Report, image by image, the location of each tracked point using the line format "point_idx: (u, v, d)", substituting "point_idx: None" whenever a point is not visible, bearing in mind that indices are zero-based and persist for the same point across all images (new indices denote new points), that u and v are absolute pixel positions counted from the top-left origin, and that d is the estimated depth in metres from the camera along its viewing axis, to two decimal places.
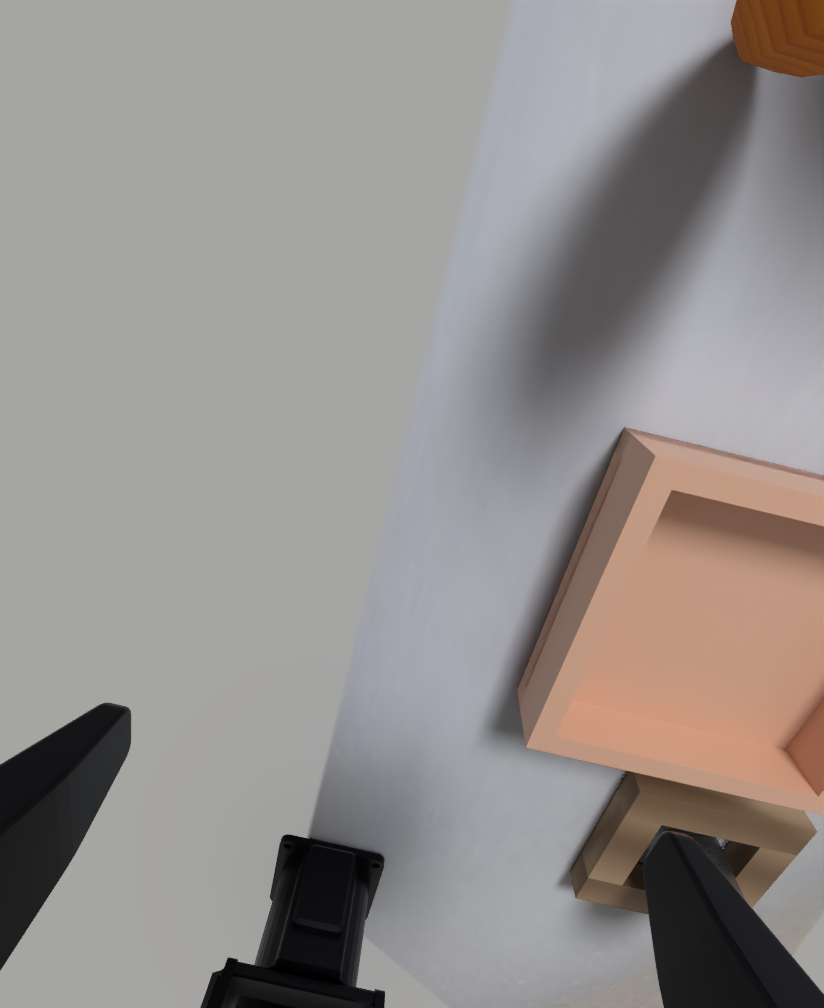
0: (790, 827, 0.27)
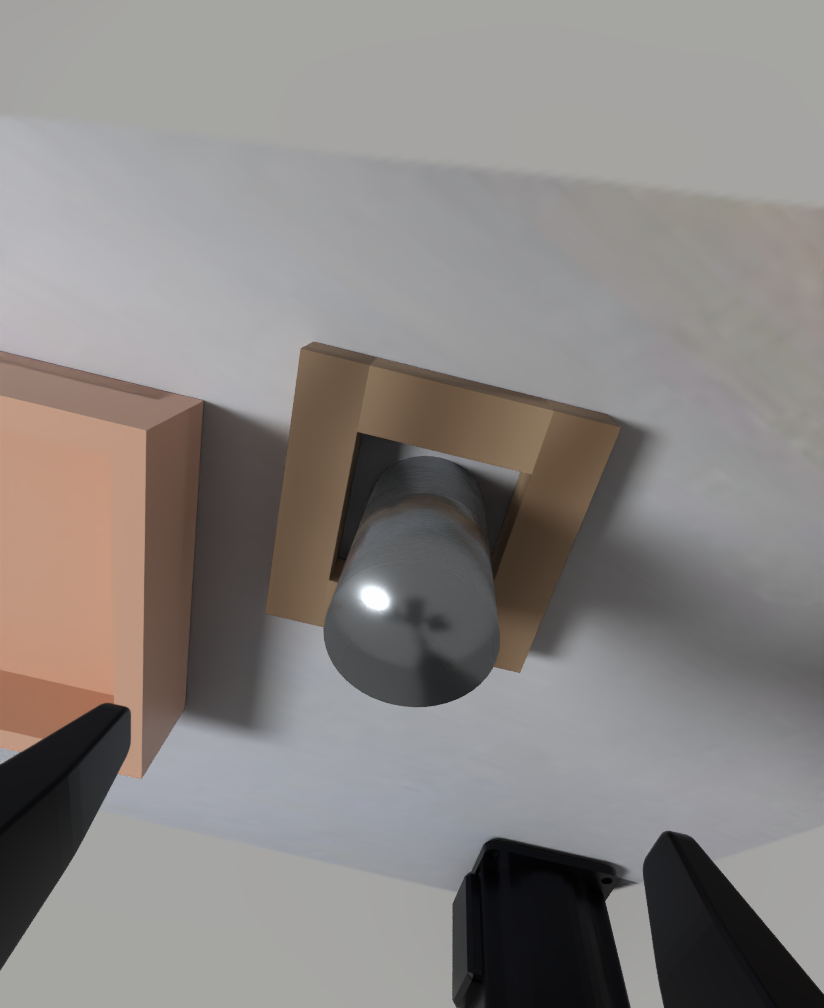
0: (298, 397, 0.15)
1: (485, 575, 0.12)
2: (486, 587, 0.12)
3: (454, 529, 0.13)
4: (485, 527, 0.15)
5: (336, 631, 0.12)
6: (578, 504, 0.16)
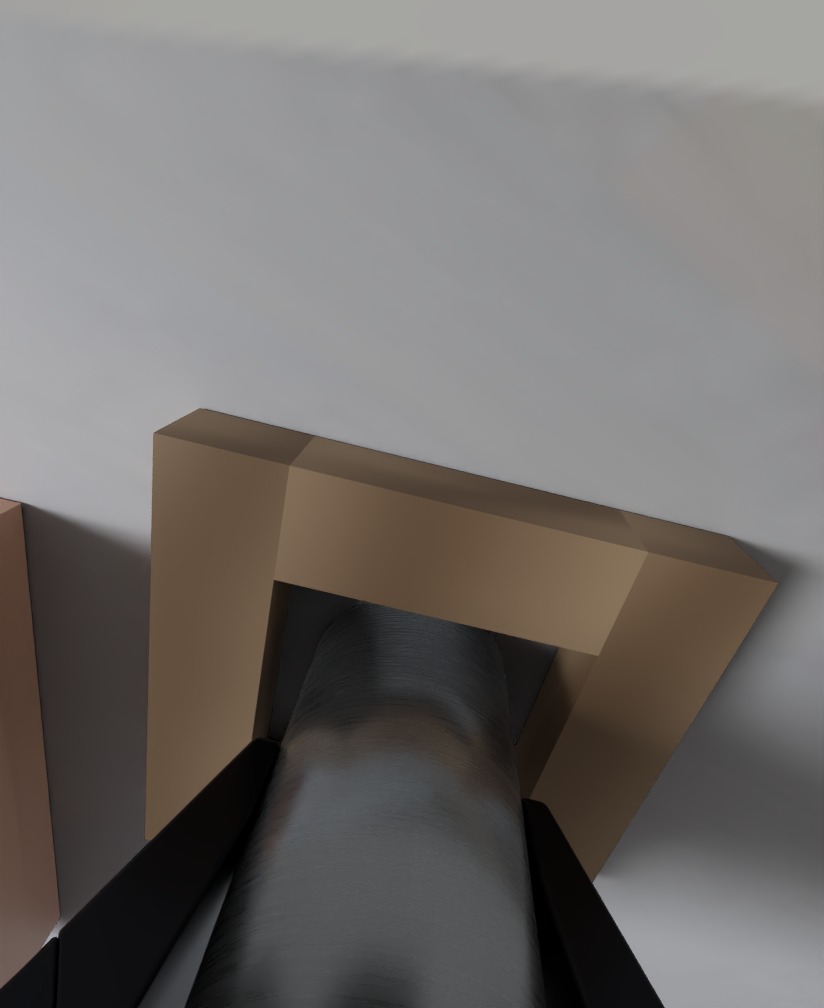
0: (159, 519, 0.08)
1: None
2: None
3: (456, 871, 0.06)
4: (514, 761, 0.08)
5: None
6: (681, 706, 0.09)
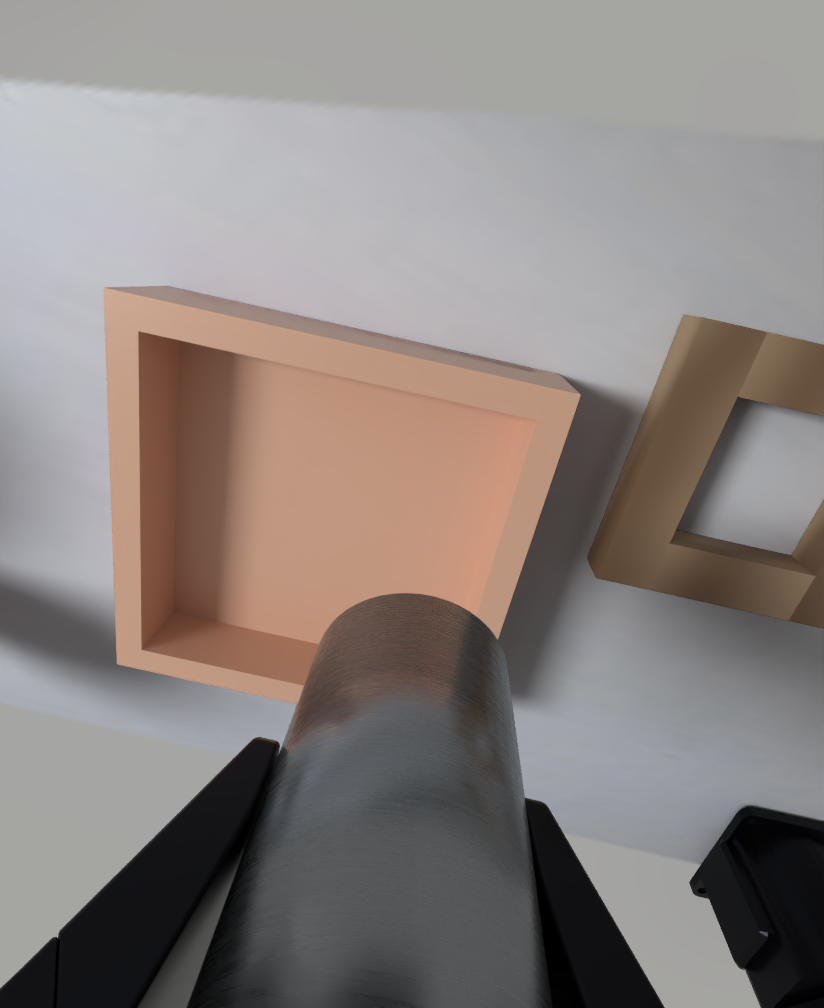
0: (687, 364, 0.16)
1: None
2: None
3: (460, 867, 0.06)
4: (517, 758, 0.08)
5: None
6: None
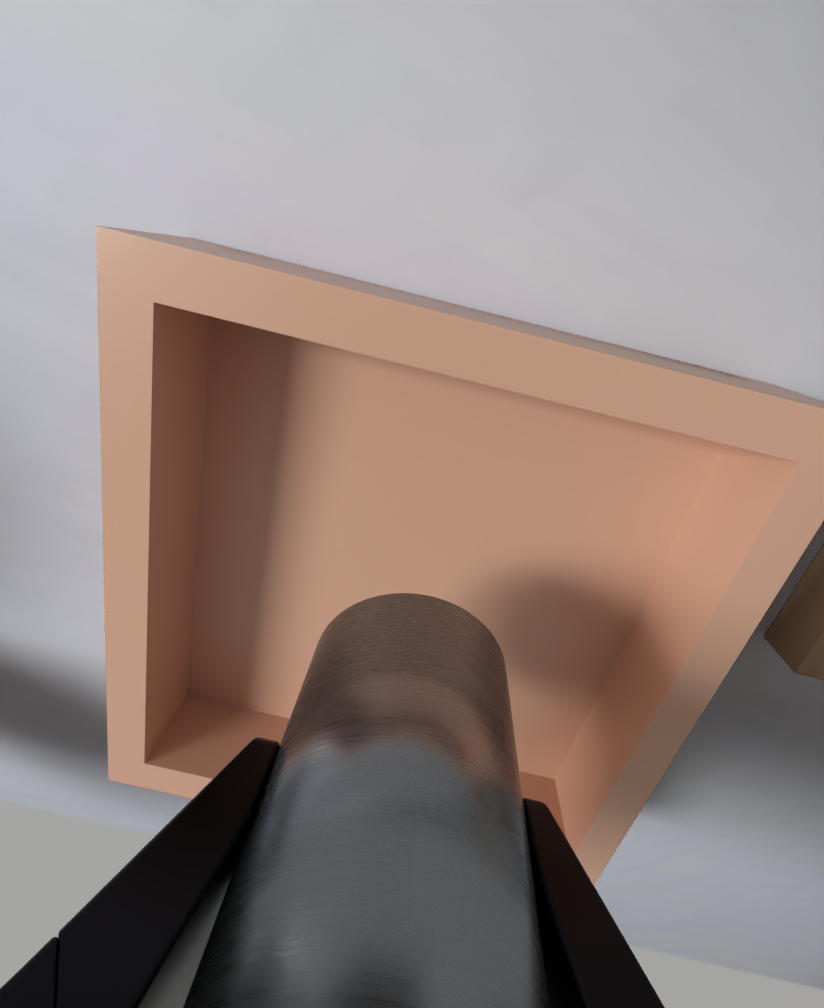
0: None
1: None
2: None
3: (457, 869, 0.06)
4: (515, 759, 0.08)
5: None
6: None
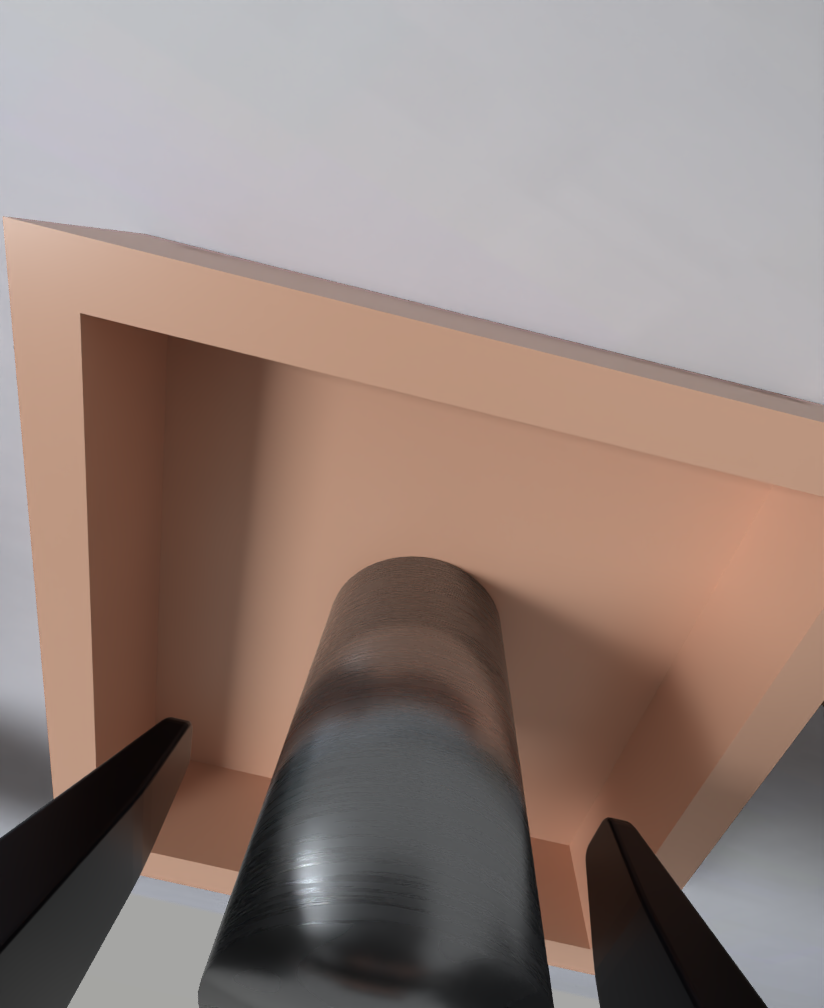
0: None
1: (521, 871, 0.06)
2: (527, 921, 0.06)
3: (460, 759, 0.07)
4: (508, 692, 0.10)
5: (224, 1007, 0.06)
6: None
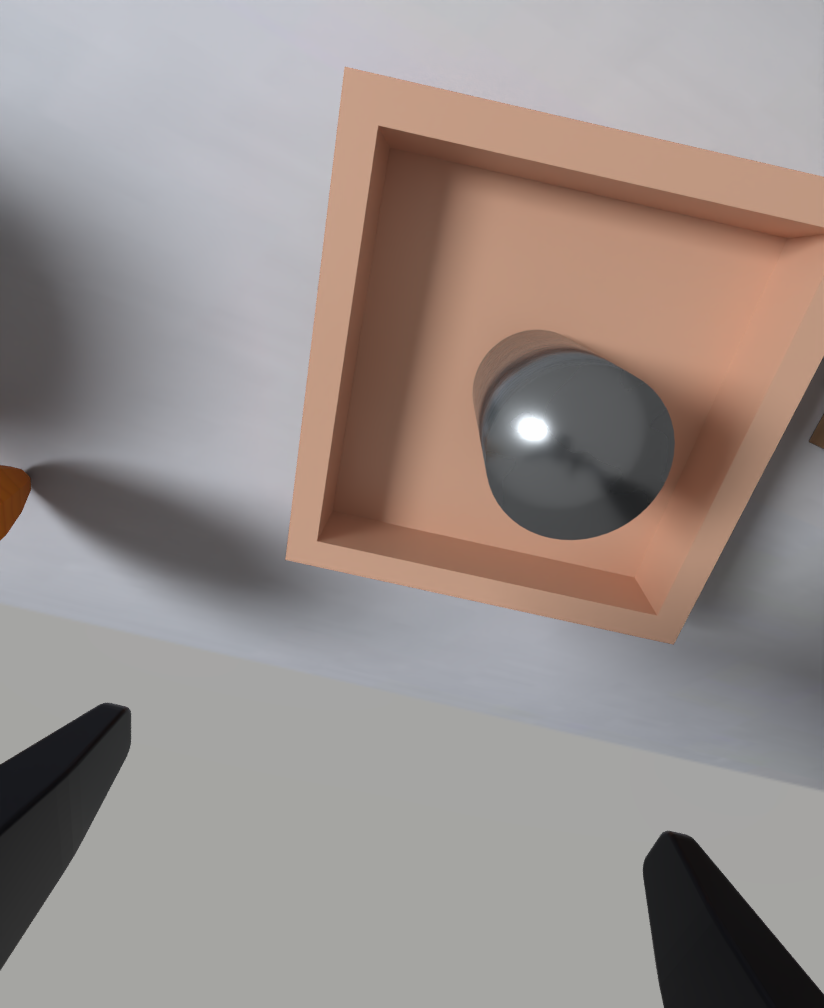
0: None
1: None
2: None
3: None
4: None
5: (499, 453, 0.11)
6: None
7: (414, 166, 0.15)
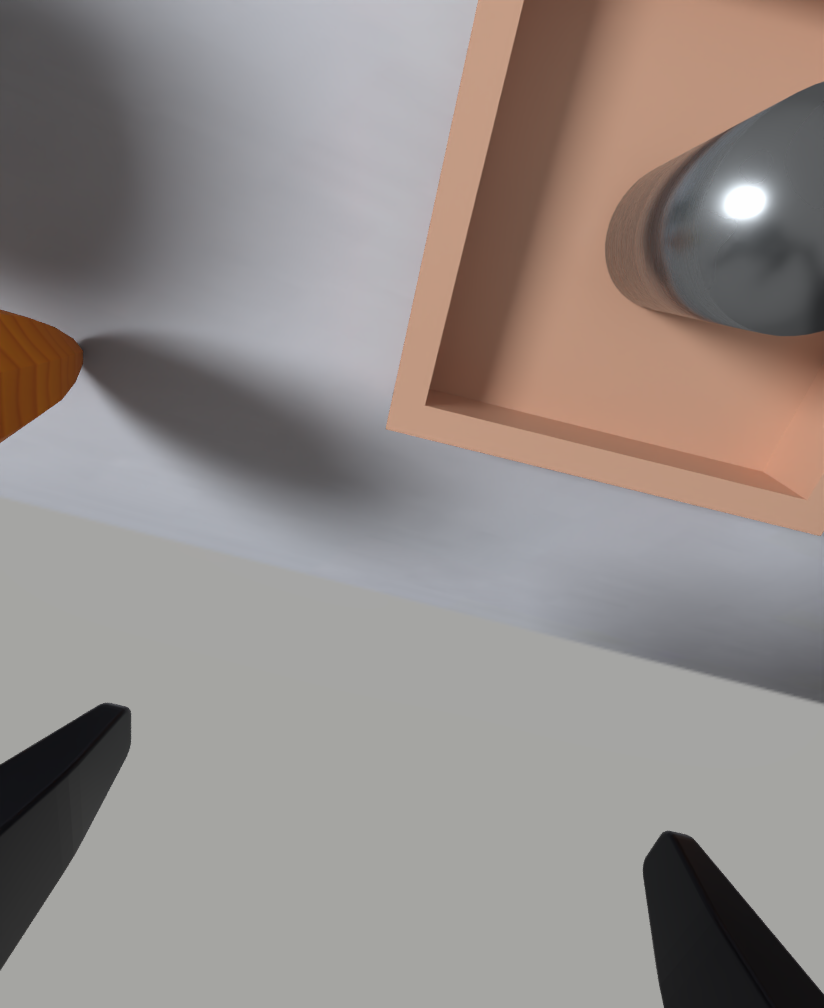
0: None
1: None
2: None
3: None
4: None
5: (718, 212, 0.09)
6: None
7: None
